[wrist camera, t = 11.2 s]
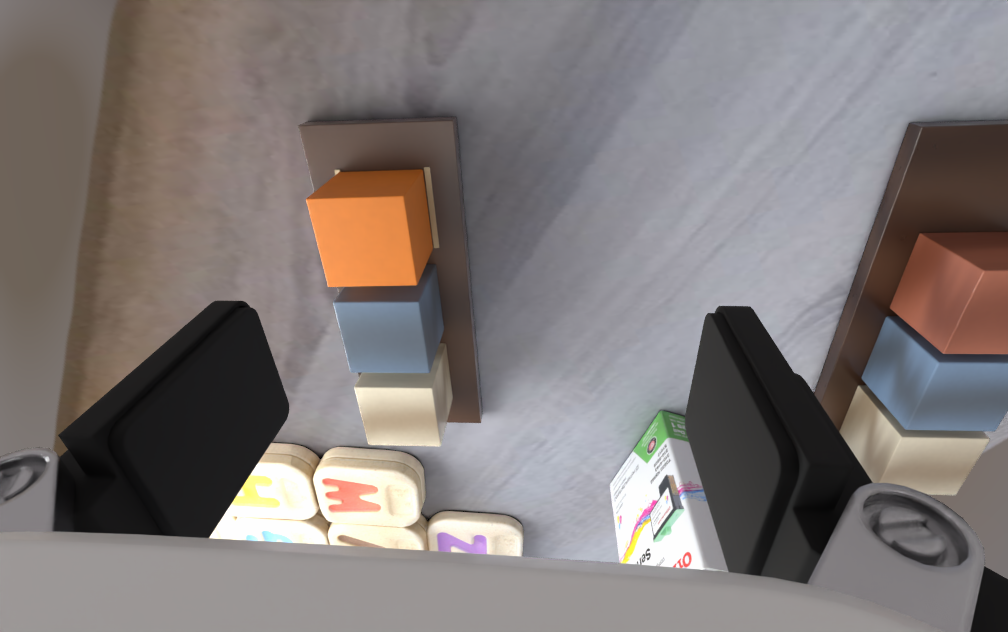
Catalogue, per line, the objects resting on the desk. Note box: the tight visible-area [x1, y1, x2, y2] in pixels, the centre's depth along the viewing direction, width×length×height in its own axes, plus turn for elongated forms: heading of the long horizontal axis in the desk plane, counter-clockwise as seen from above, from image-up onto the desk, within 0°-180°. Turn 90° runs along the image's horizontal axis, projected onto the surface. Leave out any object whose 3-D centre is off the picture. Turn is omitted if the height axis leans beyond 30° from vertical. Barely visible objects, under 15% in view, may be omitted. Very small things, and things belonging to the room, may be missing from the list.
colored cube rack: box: [814, 120, 1008, 495], centre depth 27 cm, size 20×8×6 cm, turn 3°
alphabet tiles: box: [210, 443, 524, 557], centre depth 46 cm, size 33×33×2 cm
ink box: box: [610, 411, 728, 572], centre depth 32 cm, size 8×5×12 cm, turn 161°
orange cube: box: [306, 169, 433, 287], centre depth 25 cm, size 4×4×4 cm
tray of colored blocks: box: [298, 117, 482, 446], centre depth 29 cm, size 20×8×6 cm, turn 3°
